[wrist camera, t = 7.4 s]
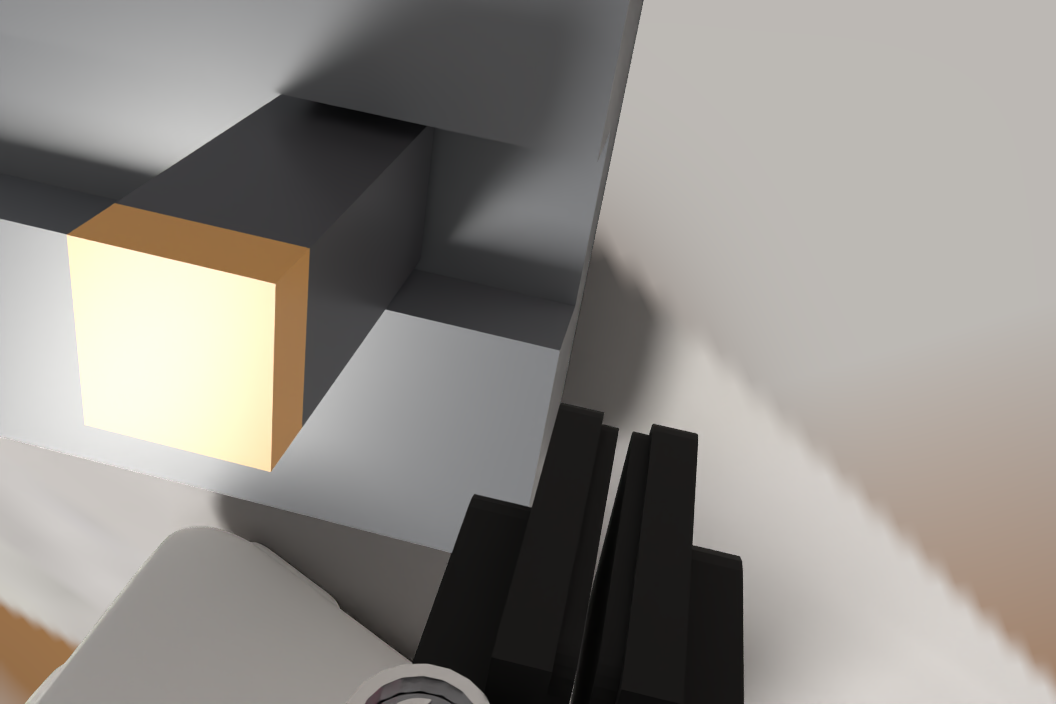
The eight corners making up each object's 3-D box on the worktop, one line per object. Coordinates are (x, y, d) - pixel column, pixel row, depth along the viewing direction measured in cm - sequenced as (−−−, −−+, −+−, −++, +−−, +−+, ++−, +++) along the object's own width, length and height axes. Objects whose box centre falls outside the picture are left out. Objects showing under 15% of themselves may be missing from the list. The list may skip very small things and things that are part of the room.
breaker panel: (688, -217, 18) (671, -217, 15) (547, 468, 27) (514, 575, 23) (-290, -393, 20) (-516, -431, 17) (-138, 299, 28) (-268, 374, 25)
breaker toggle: (435, 116, 20) (275, 283, 13) (420, 260, 22) (270, 472, 15) (293, 86, 20) (66, 234, 14) (288, 229, 22) (84, 424, 15)
